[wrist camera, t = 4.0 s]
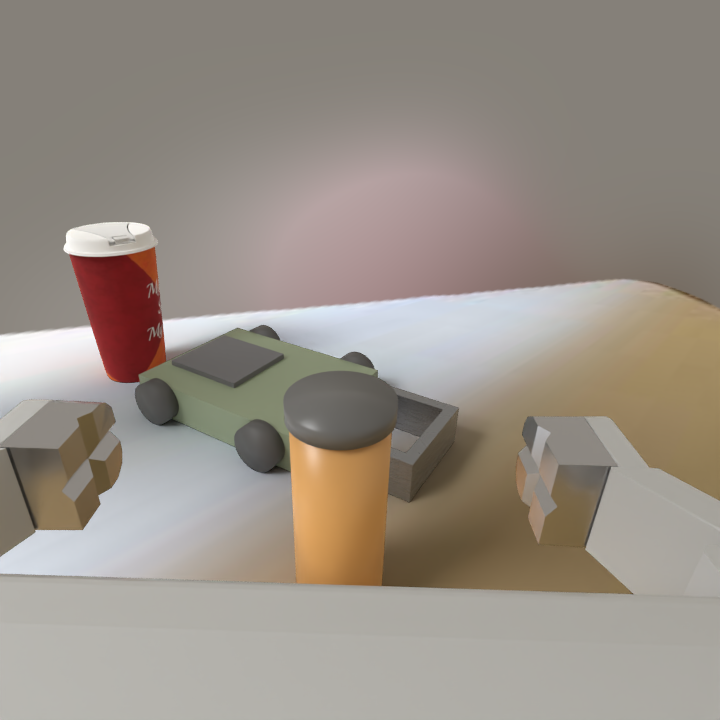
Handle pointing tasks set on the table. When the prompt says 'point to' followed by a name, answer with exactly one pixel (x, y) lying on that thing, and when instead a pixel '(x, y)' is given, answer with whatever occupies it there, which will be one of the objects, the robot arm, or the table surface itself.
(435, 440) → the box
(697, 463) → the table surface
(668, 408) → the table surface
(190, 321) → the table surface
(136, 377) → the coffee cup
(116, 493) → the table surface
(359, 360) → the toy wheeled cart
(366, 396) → the orange and grey cylinder
